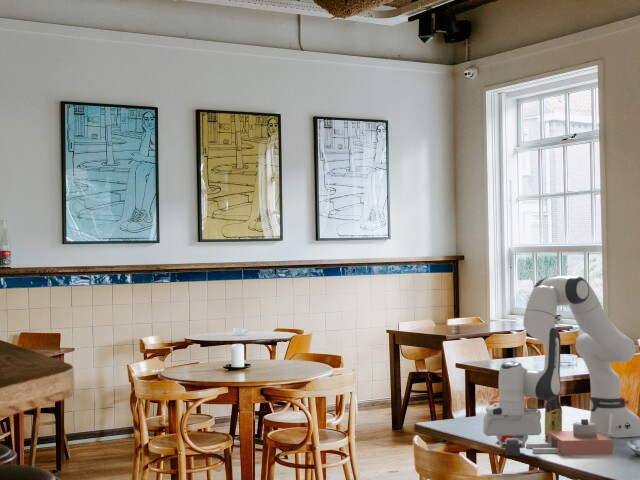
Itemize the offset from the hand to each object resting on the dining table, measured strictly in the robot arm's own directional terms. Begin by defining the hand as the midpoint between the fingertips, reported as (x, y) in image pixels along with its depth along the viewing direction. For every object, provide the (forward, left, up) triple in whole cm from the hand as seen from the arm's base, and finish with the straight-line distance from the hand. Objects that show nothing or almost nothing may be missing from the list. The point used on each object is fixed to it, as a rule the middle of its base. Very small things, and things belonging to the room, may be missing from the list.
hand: (512, 447), depth 289 cm
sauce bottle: (-21, -20, -2) cm, 29 cm away
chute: (0, -1, -2) cm, 2 cm away
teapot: (-16, -62, -2) cm, 64 cm away
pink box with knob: (-21, -3, -2) cm, 21 cm away
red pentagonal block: (-2, -18, -2) cm, 18 cm away
